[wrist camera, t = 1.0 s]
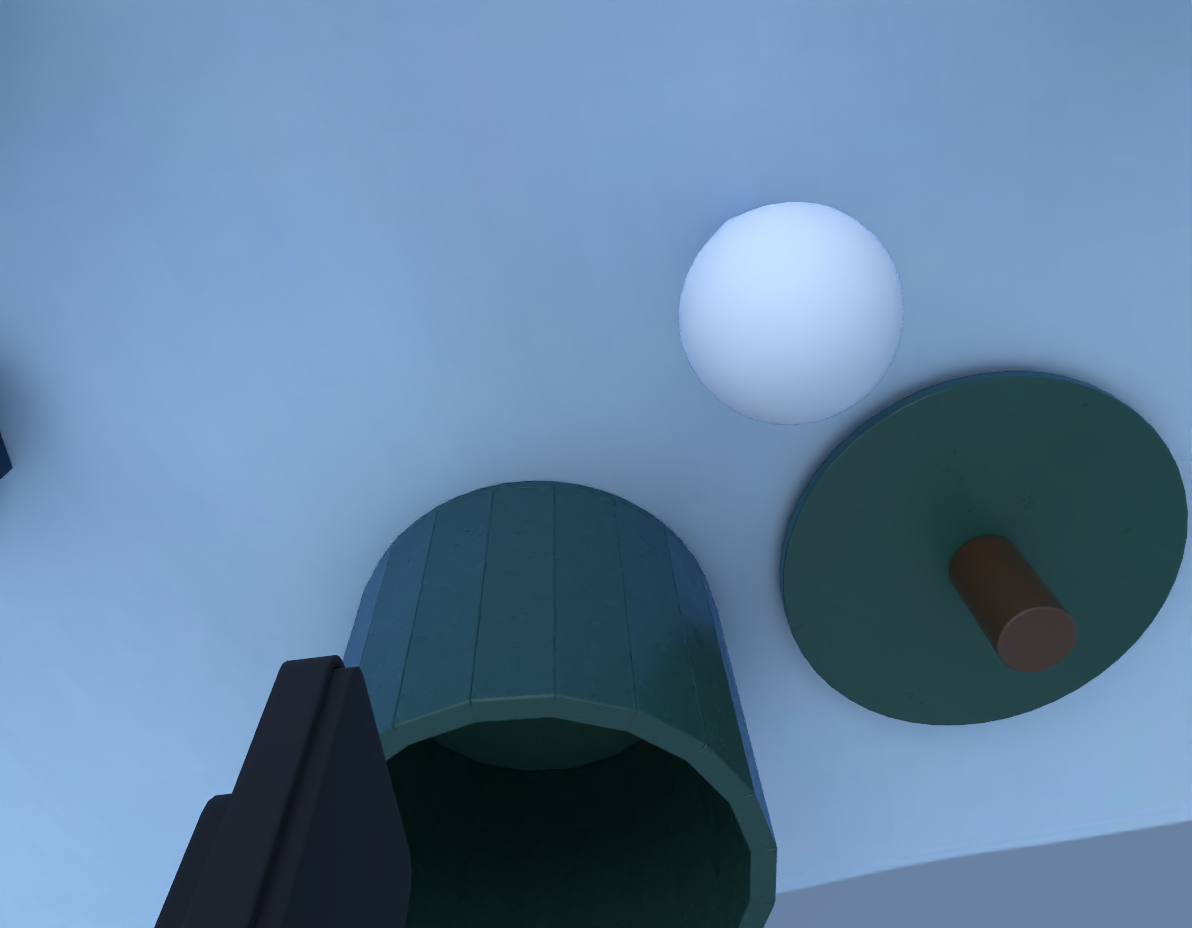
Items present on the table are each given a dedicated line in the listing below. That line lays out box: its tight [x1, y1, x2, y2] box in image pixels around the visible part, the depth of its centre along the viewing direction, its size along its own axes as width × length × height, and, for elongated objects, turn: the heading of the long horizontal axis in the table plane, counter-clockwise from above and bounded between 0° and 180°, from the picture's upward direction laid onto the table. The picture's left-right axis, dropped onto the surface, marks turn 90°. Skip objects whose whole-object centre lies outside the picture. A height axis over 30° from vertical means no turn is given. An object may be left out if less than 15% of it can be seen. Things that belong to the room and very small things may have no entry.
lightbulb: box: [678, 202, 904, 425], centre depth 31 cm, size 6×6×11 cm
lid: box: [780, 371, 1188, 725], centre depth 39 cm, size 16×16×6 cm
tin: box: [343, 481, 777, 928], centre depth 37 cm, size 15×15×13 cm
